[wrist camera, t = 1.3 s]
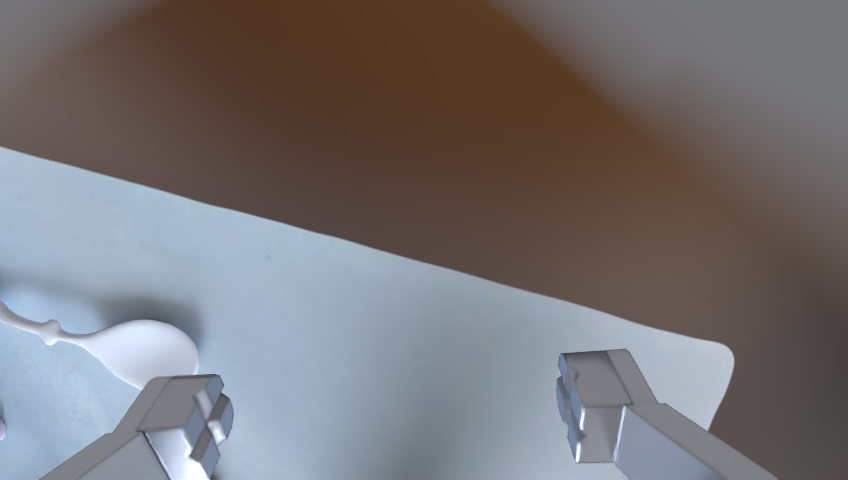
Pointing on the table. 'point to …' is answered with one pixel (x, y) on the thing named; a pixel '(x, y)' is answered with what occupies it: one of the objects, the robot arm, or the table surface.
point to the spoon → (124, 346)
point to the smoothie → (2, 430)
